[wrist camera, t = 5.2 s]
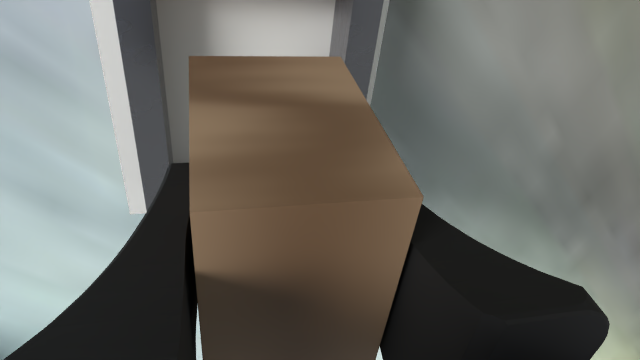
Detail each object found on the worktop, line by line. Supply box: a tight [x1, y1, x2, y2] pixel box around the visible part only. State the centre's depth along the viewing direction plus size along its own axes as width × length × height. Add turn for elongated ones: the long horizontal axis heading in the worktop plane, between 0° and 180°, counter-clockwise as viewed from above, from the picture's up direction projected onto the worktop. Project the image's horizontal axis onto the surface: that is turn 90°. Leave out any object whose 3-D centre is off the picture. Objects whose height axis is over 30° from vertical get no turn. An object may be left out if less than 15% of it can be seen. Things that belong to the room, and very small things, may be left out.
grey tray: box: [89, 0, 390, 214], centre depth 18 cm, size 10×12×3 cm
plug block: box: [189, 56, 423, 360], centre depth 12 cm, size 4×6×6 cm, turn 174°
